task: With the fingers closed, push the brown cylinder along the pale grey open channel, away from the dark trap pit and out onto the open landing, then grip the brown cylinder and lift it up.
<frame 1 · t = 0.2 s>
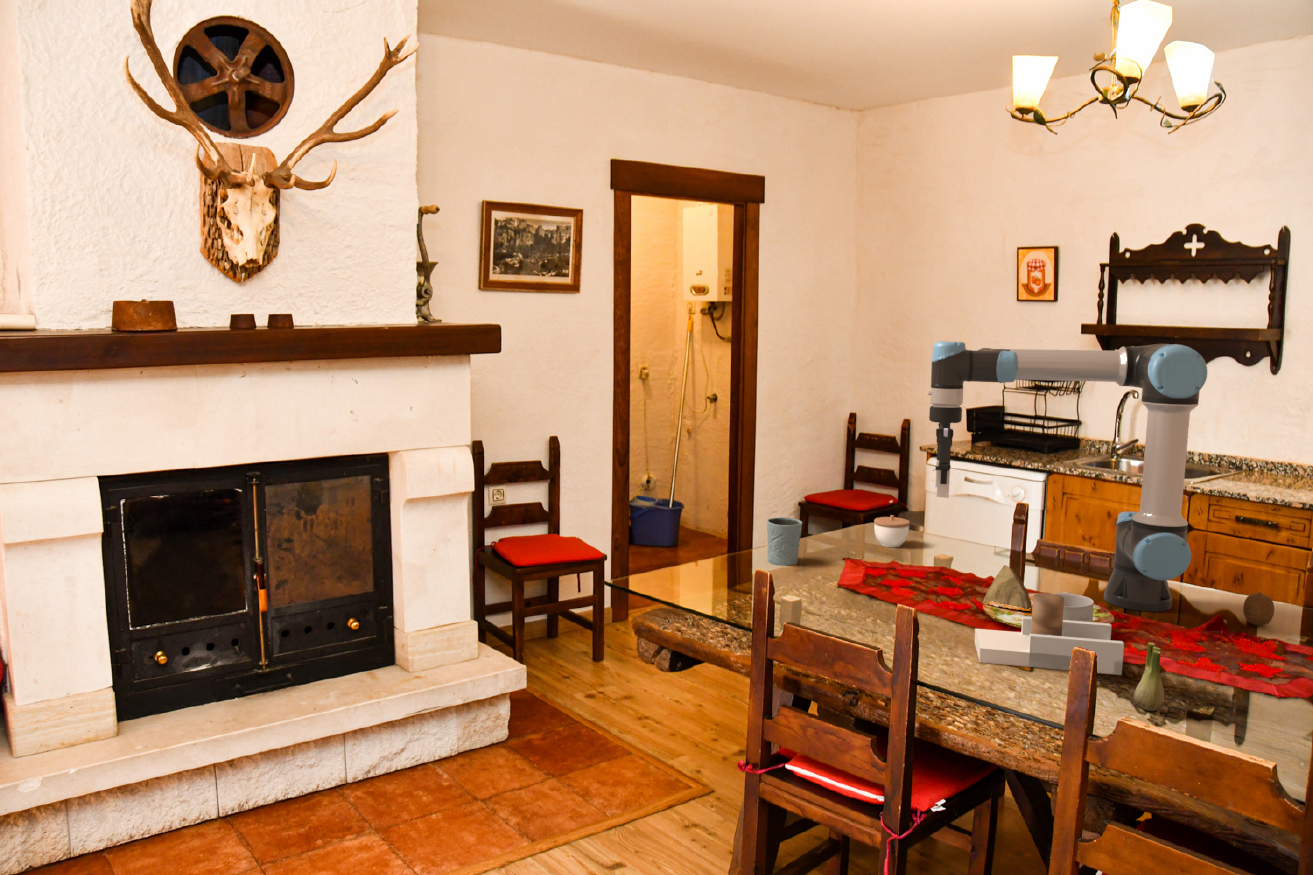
hand: (941, 492, 237), 28 cm above the table, tool pointing down, fingers open, 13 cm apart
brown cylinder: (1045, 643, 203), point 3 cm above the table, touching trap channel
embossed blue-grey cup: (783, 562, 279), on the table
fennel bulb: (1147, 709, 177), on the table
lidded jar: (890, 545, 301), on the table
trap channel: (1044, 657, 203), on the table
teacup: (1066, 631, 220), on the table
rock: (1007, 608, 238), on the table
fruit: (1257, 626, 226), on the table
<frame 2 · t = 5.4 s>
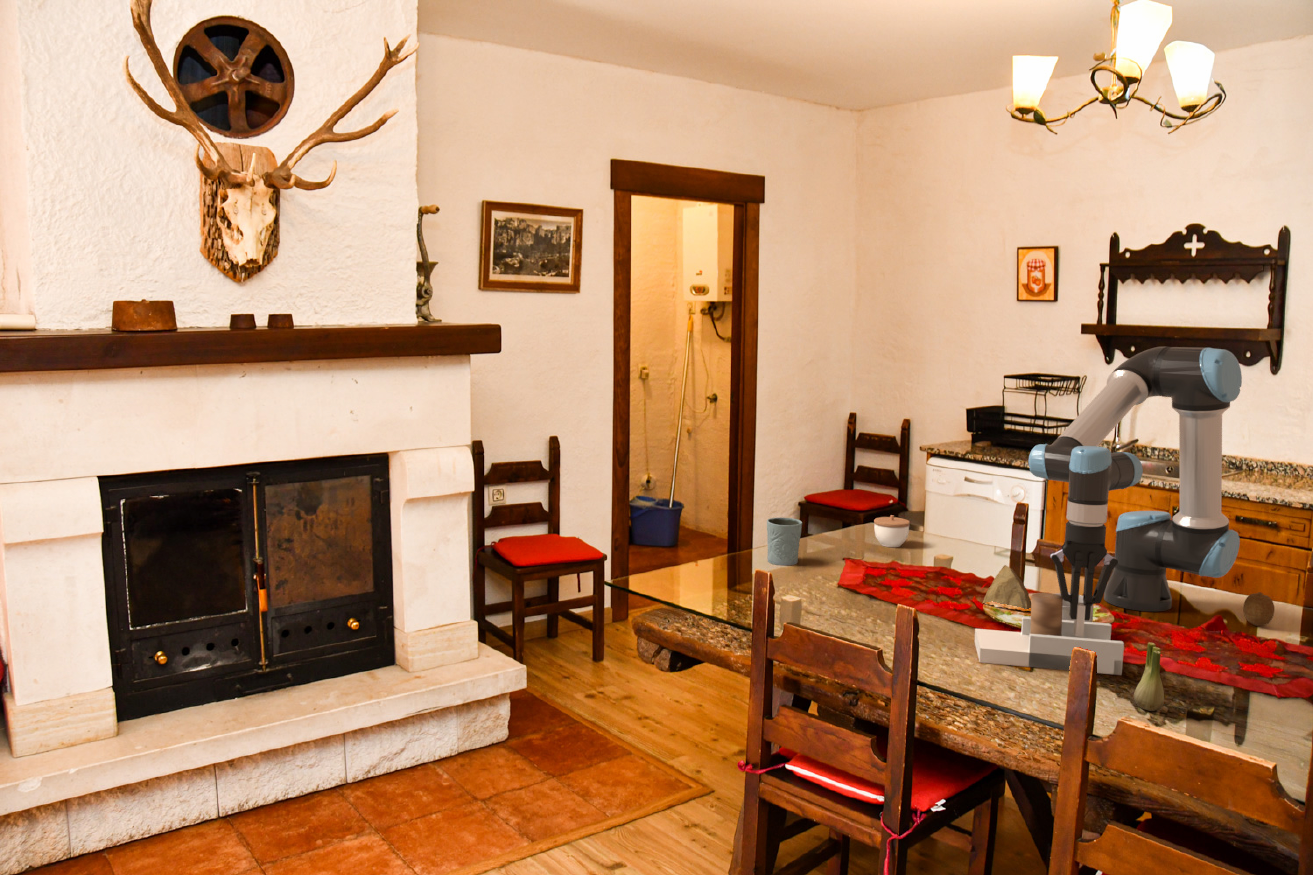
hand: (1078, 634, 201), 6 cm above the table, tool pointing down, fingers closed
brown cylinder: (1045, 643, 203), point 3 cm above the table, touching gripper, hand, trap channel
everything else where it was.
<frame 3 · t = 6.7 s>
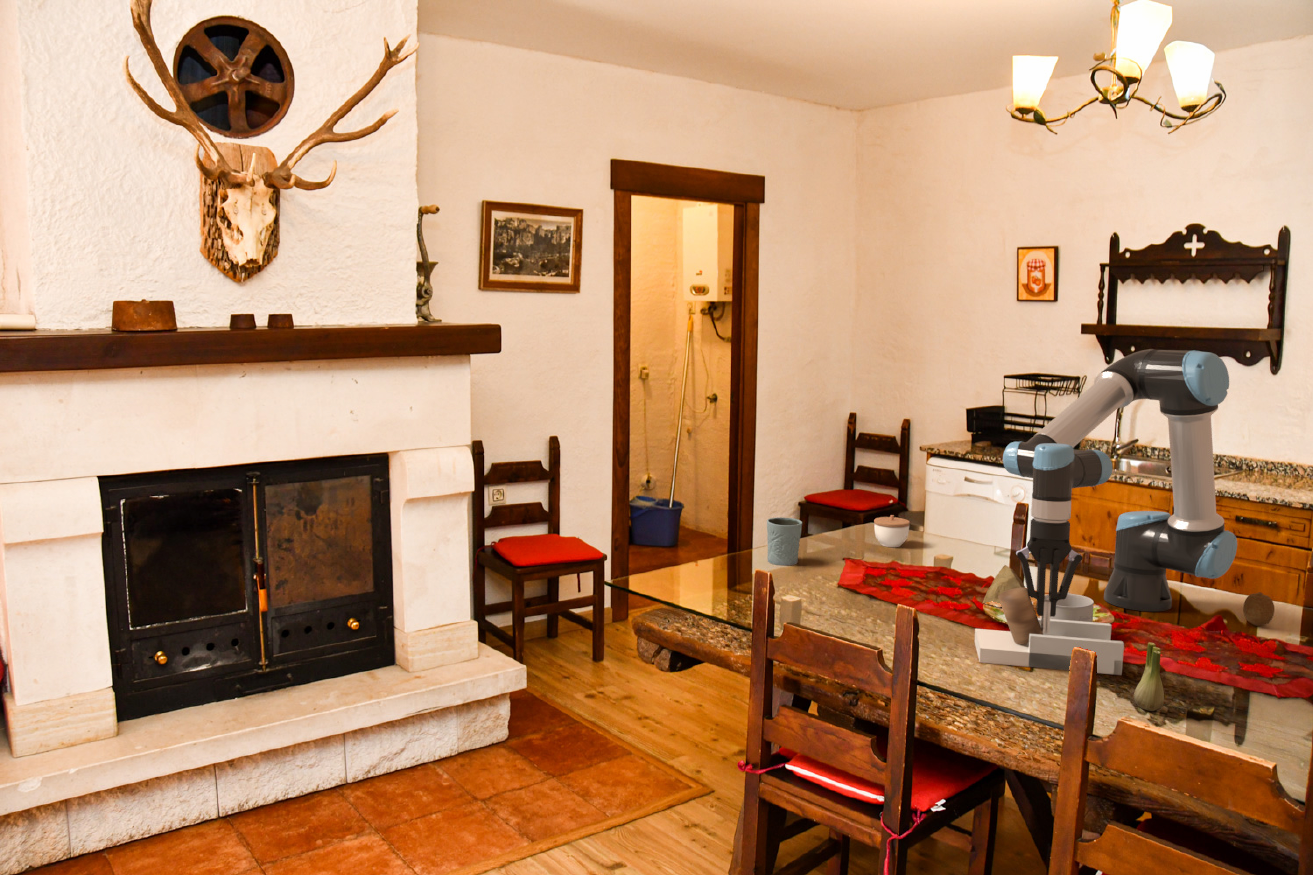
hand: (1045, 630, 202), 6 cm above the table, tool pointing down, fingers closed
brown cylinder: (1028, 637, 203), point 4 cm above the table, tilted 22°, touching gripper, hand
everything else where it was.
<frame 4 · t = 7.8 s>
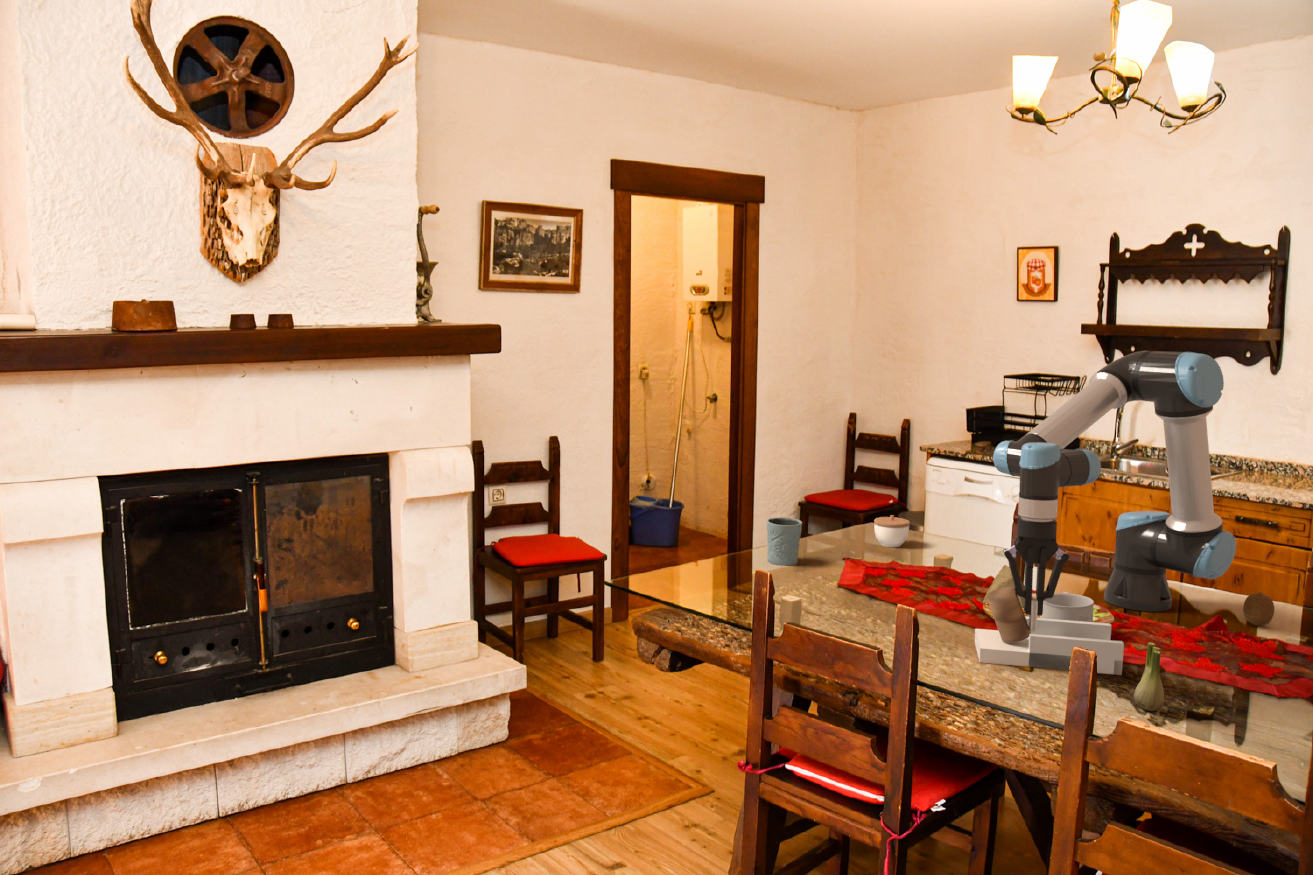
hand: (1032, 629, 202), 6 cm above the table, tool pointing down, fingers closed
brown cylinder: (1016, 636, 203), point 4 cm above the table, tilted 22°, touching gripper, hand, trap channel
everything else where it was.
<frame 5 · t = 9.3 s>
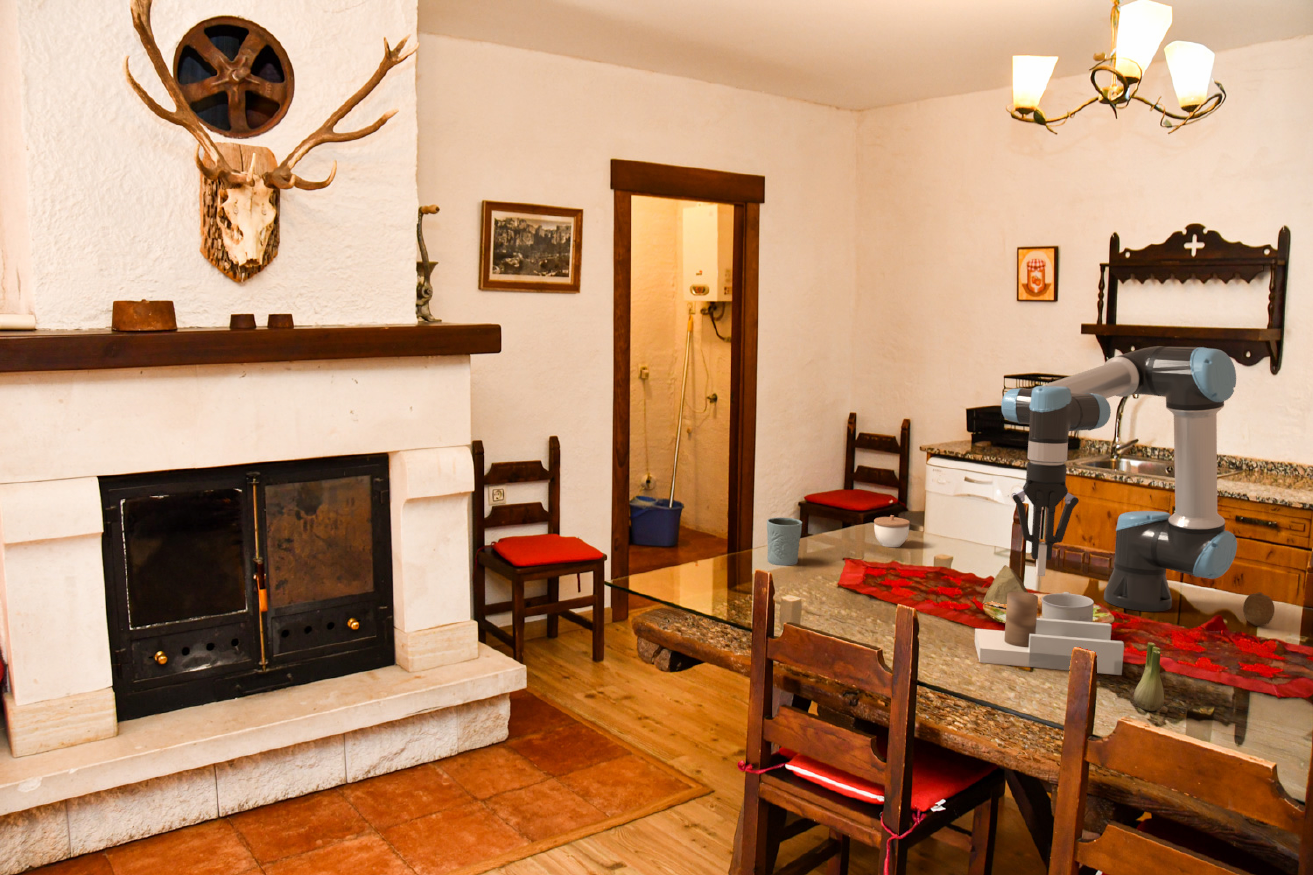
hand: (1040, 574, 201), 18 cm above the table, tool pointing down, fingers closed
brown cylinder: (1019, 641, 203), point 3 cm above the table, touching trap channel
everything else where it was.
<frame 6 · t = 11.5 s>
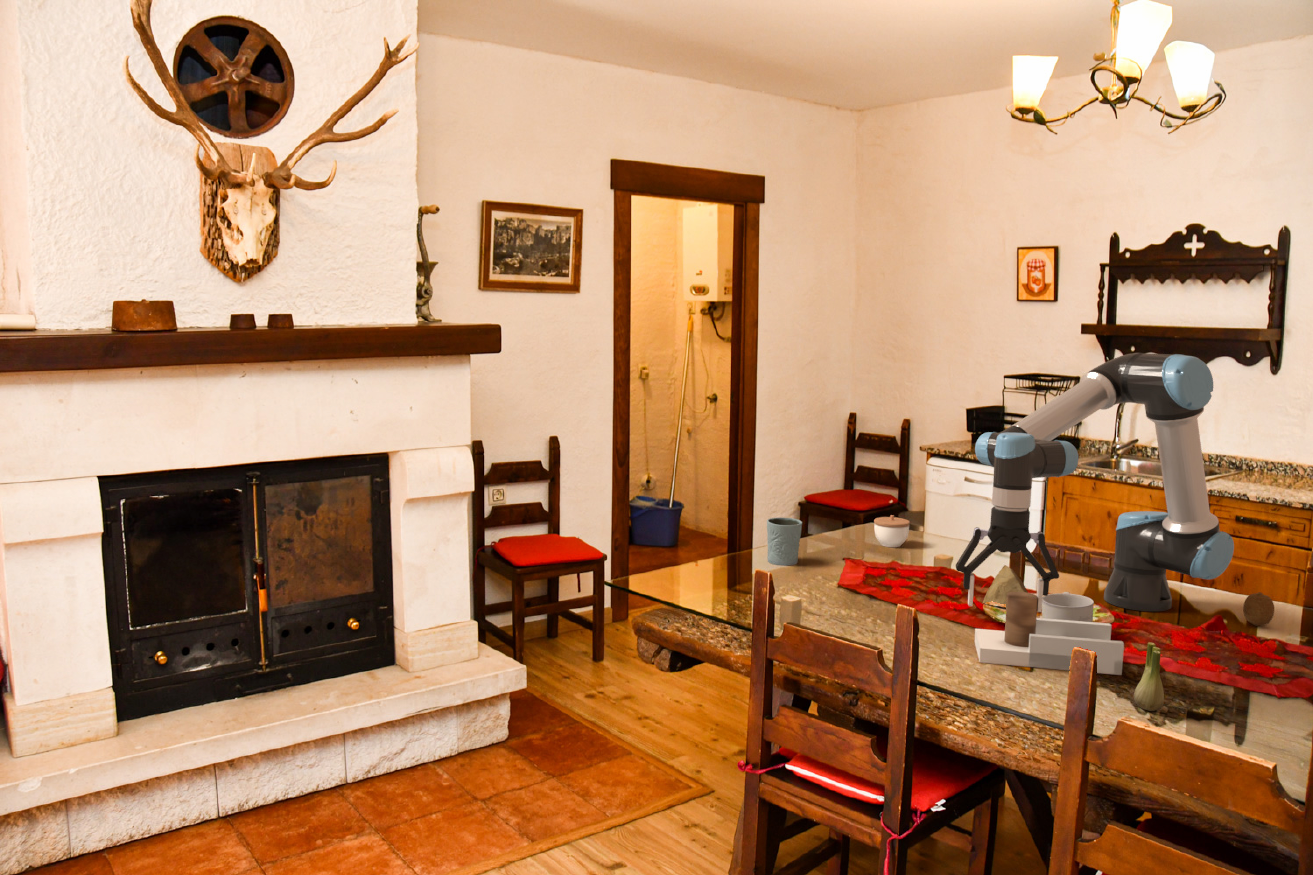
hand: (1004, 607, 203), 10 cm above the table, tool pointing down, fingers open, 13 cm apart
nothing on the table moved.
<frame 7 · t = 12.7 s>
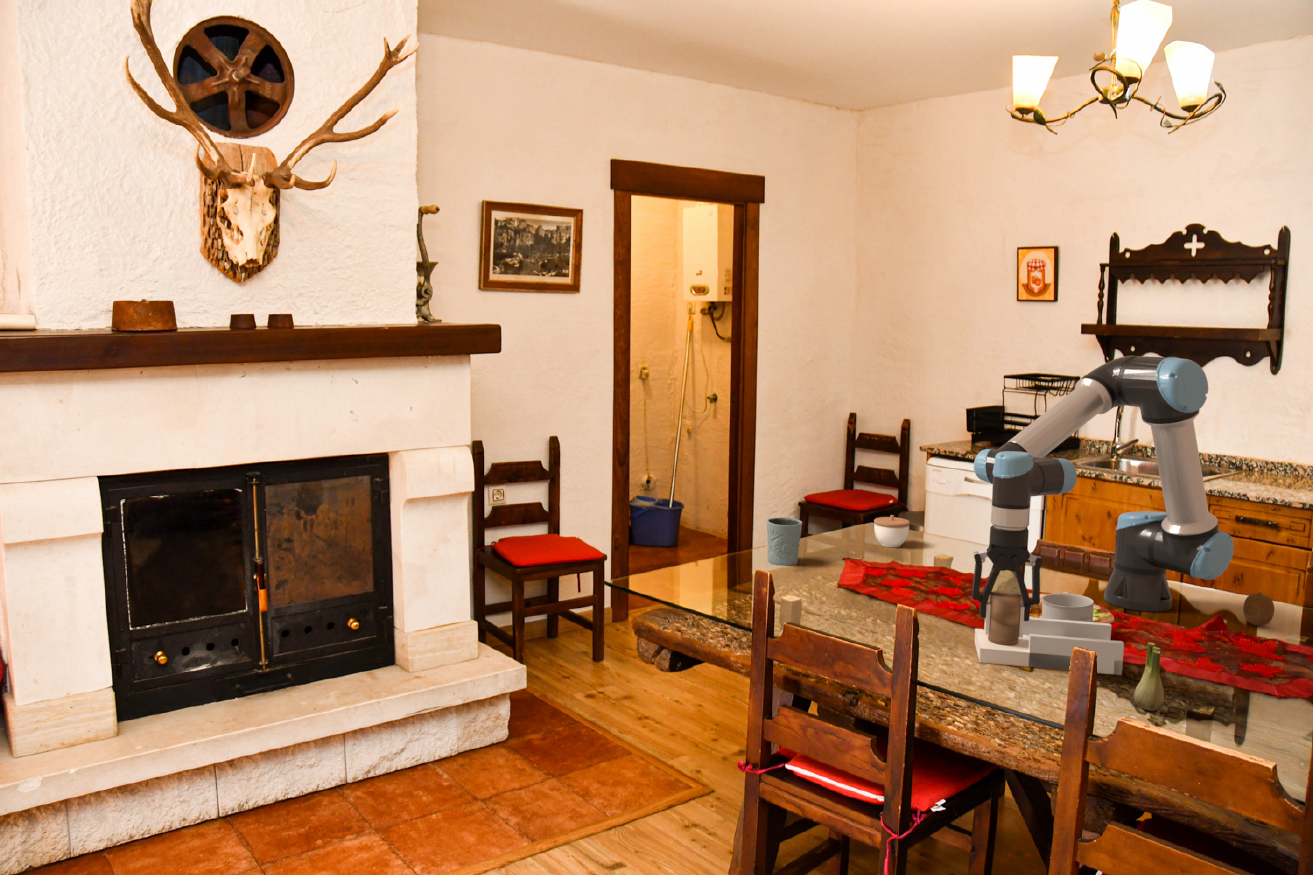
hand: (1003, 633, 204), 4 cm above the table, tool pointing down, fingers closed on brown cylinder, 6 cm apart
brown cylinder: (1003, 640, 204), point 3 cm above the table, touching gripper, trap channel
everything else where it was.
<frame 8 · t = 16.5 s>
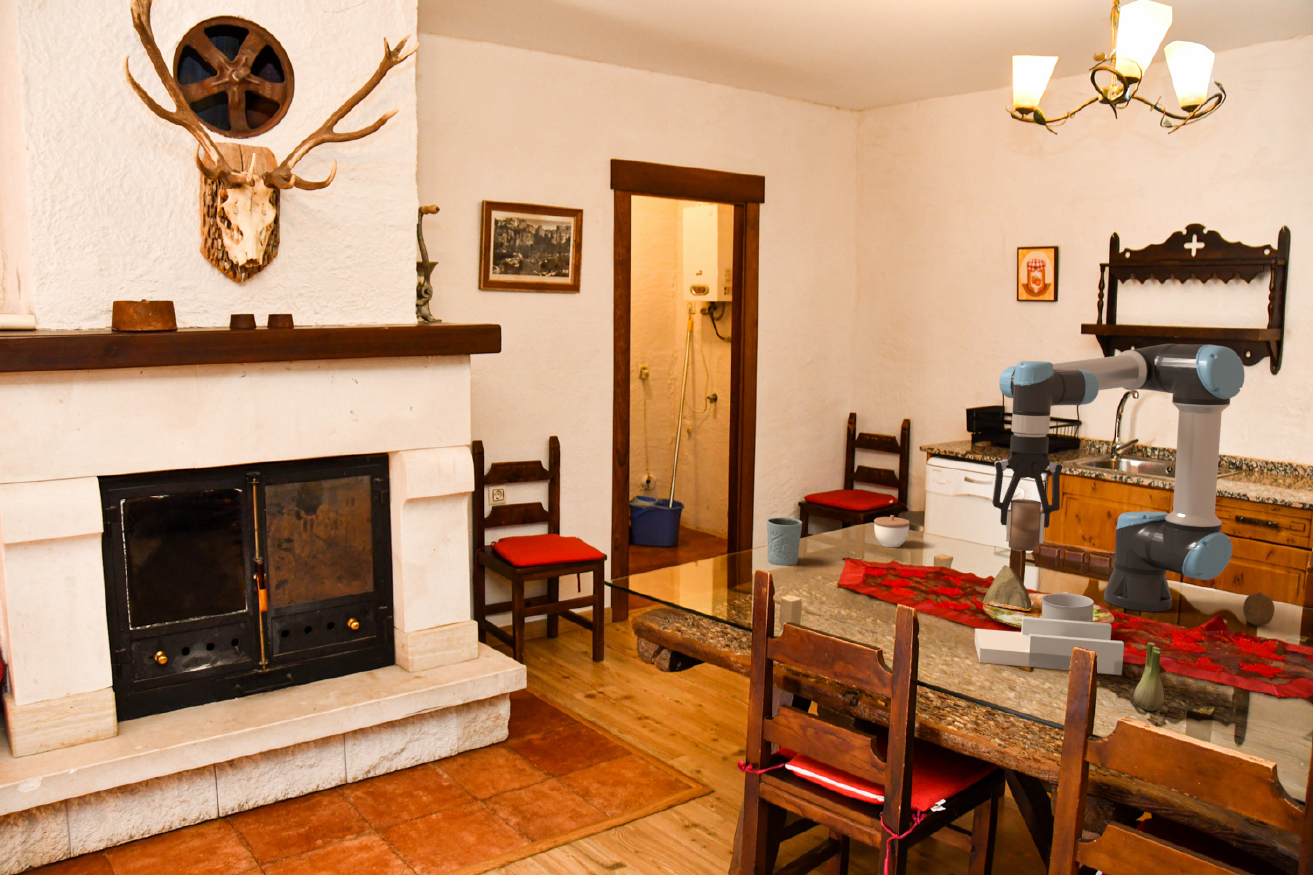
hand: (1023, 540, 209), 23 cm above the table, tool pointing down, fingers closed on brown cylinder, 6 cm apart
brown cylinder: (1023, 547, 209), point 21 cm above the table, touching gripper
everything else where it was.
at the end: the gripper is holding brown cylinder; brown cylinder inside the target area (3.4 cm from its centre), point 21.4 cm above the table; brown cylinder touching gripper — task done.
